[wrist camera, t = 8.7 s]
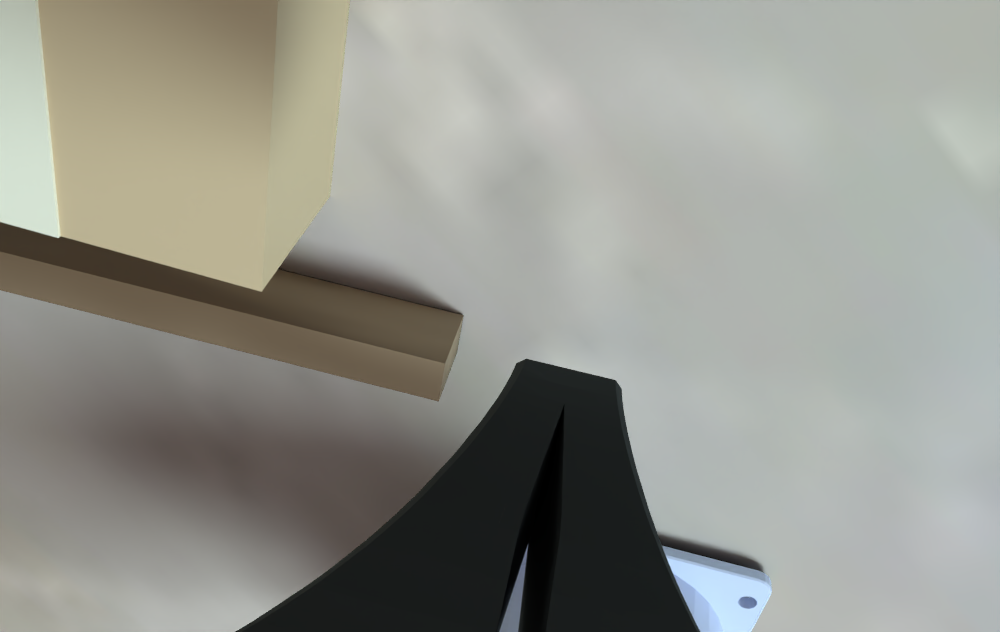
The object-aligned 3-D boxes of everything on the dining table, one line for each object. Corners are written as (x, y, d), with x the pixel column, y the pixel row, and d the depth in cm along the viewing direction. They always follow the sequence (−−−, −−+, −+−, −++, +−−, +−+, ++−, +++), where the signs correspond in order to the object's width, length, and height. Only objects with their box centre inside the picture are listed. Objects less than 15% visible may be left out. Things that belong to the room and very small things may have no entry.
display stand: (438, 455, 27) (350, 710, 20) (-141, 306, 28) (-401, 504, 21) (628, -612, 14) (550, -844, 7) (-475, -826, 15) (-1407, -1198, 8)
